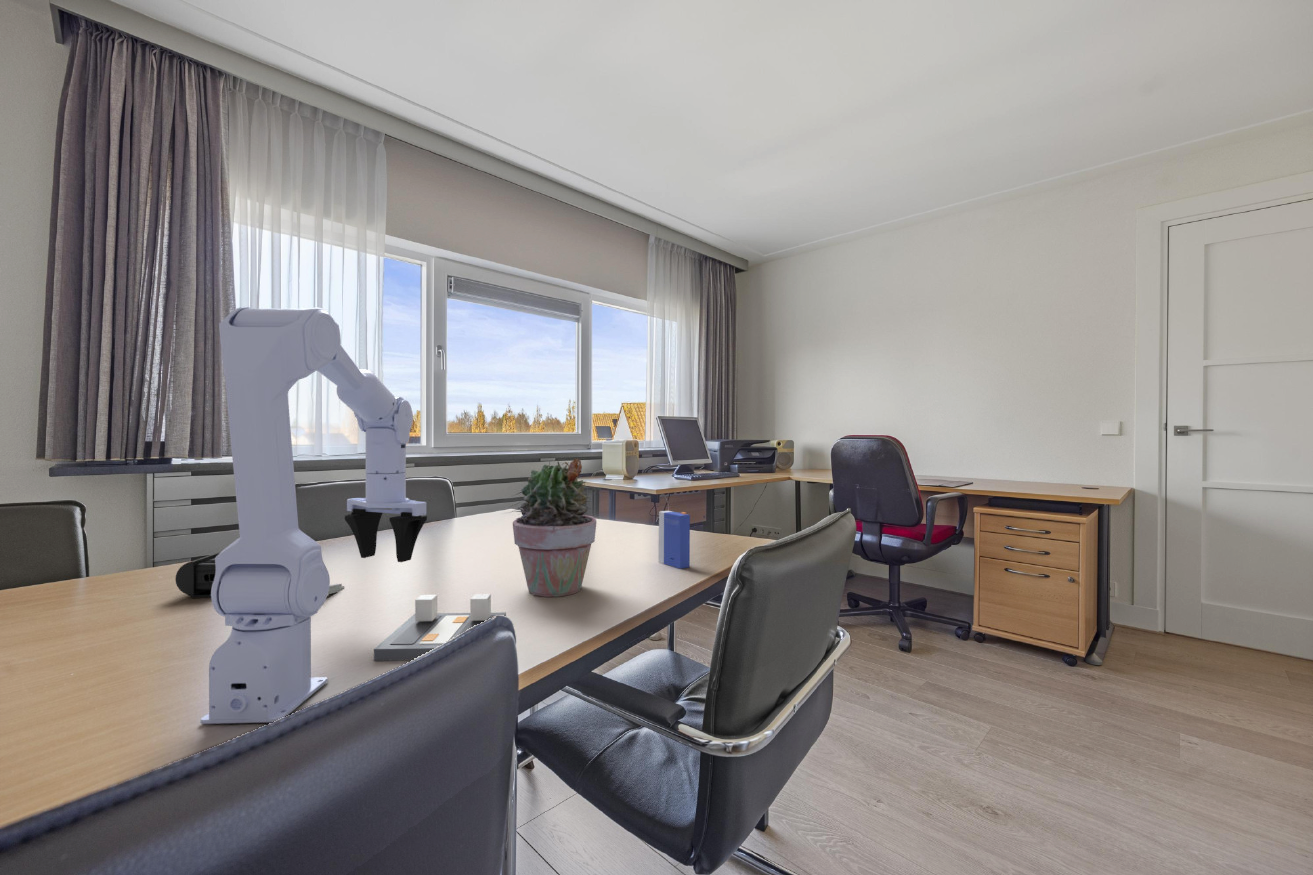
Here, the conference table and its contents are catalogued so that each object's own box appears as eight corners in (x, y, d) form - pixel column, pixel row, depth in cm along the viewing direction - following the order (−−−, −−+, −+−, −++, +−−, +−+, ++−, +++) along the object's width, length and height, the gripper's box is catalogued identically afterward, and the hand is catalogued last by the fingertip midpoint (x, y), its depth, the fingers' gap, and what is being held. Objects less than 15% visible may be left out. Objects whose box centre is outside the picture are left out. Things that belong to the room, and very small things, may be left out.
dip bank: (482, 658, 73) (482, 645, 73) (373, 660, 72) (373, 647, 72) (506, 621, 87) (506, 611, 87) (415, 623, 86) (415, 612, 86)
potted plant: (530, 572, 117) (530, 454, 116) (616, 581, 111) (616, 456, 110) (477, 597, 99) (477, 458, 99) (575, 608, 93) (576, 461, 93)
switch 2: (486, 620, 82) (486, 598, 82) (470, 620, 82) (470, 599, 82) (490, 614, 84) (490, 594, 84) (474, 615, 84) (474, 594, 84)
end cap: (212, 584, 107) (212, 549, 107) (252, 583, 108) (252, 549, 108) (174, 600, 97) (174, 562, 97) (218, 599, 98) (218, 561, 98)
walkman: (689, 567, 122) (690, 513, 122) (680, 569, 120) (680, 514, 120) (667, 560, 128) (667, 508, 128) (658, 562, 127) (658, 509, 127)
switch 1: (431, 621, 82) (431, 599, 82) (415, 621, 81) (415, 599, 81) (437, 615, 84) (437, 594, 84) (421, 615, 84) (421, 594, 84)
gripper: (440, 472, 88) (440, 557, 88) (372, 469, 93) (372, 550, 94) (406, 475, 82) (406, 567, 82) (335, 472, 87) (335, 558, 87)
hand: (385, 558), depth 87 cm, fingers open, 7 cm apart
